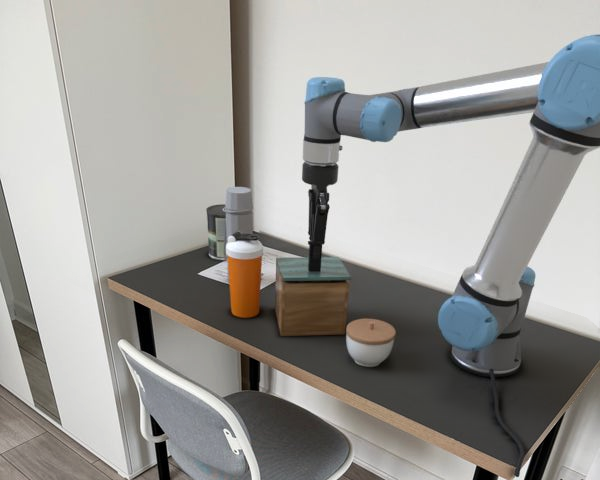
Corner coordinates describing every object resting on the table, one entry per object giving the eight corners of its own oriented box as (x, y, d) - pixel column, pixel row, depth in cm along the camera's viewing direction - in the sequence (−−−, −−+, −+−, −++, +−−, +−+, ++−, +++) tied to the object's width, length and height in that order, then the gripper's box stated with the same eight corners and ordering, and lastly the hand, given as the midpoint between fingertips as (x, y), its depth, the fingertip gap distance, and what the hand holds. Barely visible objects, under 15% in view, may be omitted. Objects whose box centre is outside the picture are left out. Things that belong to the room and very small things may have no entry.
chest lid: (350, 280, 133) (351, 276, 133) (282, 281, 131) (282, 277, 131) (338, 260, 146) (338, 257, 145) (276, 260, 144) (276, 257, 143)
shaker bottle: (257, 321, 145) (257, 243, 134) (223, 317, 147) (220, 238, 136) (266, 306, 153) (267, 231, 142) (233, 302, 154) (231, 227, 143)
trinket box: (353, 344, 138) (357, 307, 132) (397, 355, 134) (403, 318, 129) (336, 364, 130) (339, 326, 124) (382, 377, 126) (387, 338, 121)
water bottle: (259, 279, 168) (259, 189, 154) (242, 288, 162) (240, 195, 148) (233, 271, 172) (231, 183, 158) (216, 280, 166) (212, 189, 152)
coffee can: (202, 256, 180) (199, 210, 172) (219, 246, 188) (217, 202, 180) (231, 262, 177) (230, 216, 169) (247, 252, 185) (247, 207, 177)
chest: (344, 334, 142) (349, 282, 134) (280, 336, 140) (282, 283, 132) (334, 309, 153) (338, 260, 146) (275, 310, 151) (276, 261, 144)
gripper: (344, 170, 117) (335, 281, 130) (332, 155, 127) (325, 259, 141) (307, 169, 116) (301, 281, 129) (298, 155, 126) (294, 260, 140)
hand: (314, 270), depth 135 cm, fingers closed
